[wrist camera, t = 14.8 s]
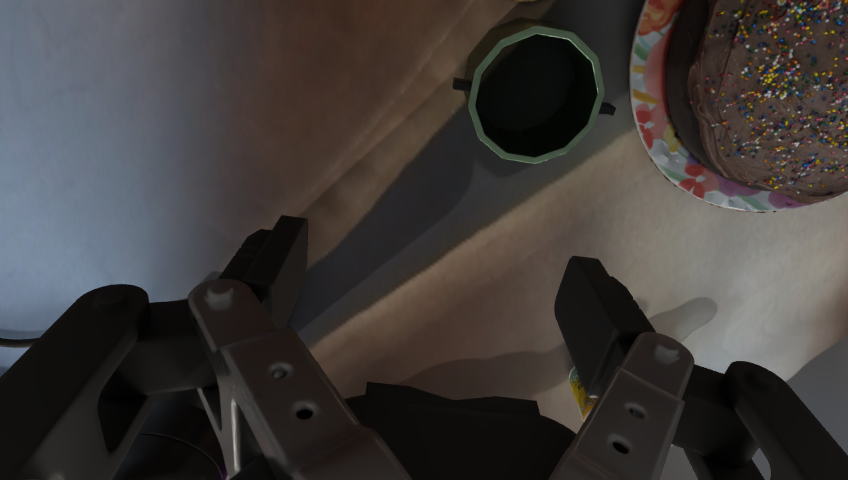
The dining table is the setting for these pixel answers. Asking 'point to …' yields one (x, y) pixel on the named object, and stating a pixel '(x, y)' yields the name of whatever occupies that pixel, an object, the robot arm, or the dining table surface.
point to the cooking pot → (566, 121)
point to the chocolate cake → (744, 99)
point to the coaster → (525, 0)
